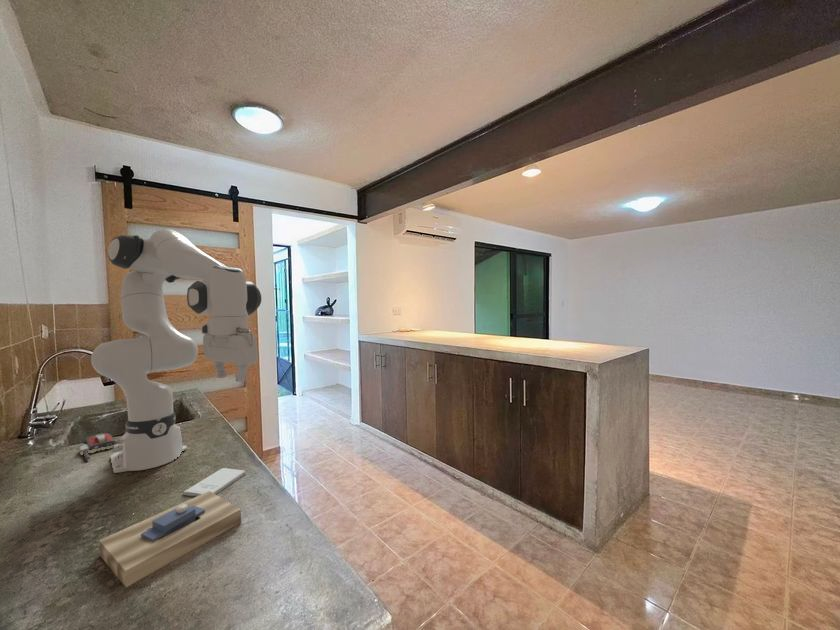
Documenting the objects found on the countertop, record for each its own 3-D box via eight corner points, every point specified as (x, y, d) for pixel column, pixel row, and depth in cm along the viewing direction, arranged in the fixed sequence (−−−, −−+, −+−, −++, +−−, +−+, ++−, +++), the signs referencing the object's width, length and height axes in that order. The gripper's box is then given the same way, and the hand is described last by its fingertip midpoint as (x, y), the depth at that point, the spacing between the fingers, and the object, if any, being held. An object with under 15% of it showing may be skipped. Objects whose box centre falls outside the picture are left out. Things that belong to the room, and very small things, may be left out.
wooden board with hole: (99, 555, 64) (99, 540, 64) (209, 502, 81) (209, 490, 81) (126, 587, 57) (125, 570, 57) (241, 522, 74) (240, 509, 74)
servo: (141, 551, 65) (140, 523, 65) (193, 521, 74) (192, 496, 74) (153, 557, 64) (152, 528, 63) (205, 525, 73) (204, 500, 73)
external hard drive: (245, 476, 95) (209, 500, 83) (222, 473, 97) (183, 496, 85) (245, 470, 95) (209, 494, 83) (221, 467, 97) (182, 490, 85)
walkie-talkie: (76, 447, 116) (83, 464, 103) (75, 435, 115) (82, 450, 103) (110, 439, 122) (120, 454, 110) (109, 427, 122) (120, 441, 109)
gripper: (263, 327, 84) (265, 381, 84) (221, 325, 95) (223, 373, 95) (239, 329, 79) (240, 386, 79) (197, 327, 89) (199, 377, 90)
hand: (230, 379), depth 87 cm, fingers open, 8 cm apart
